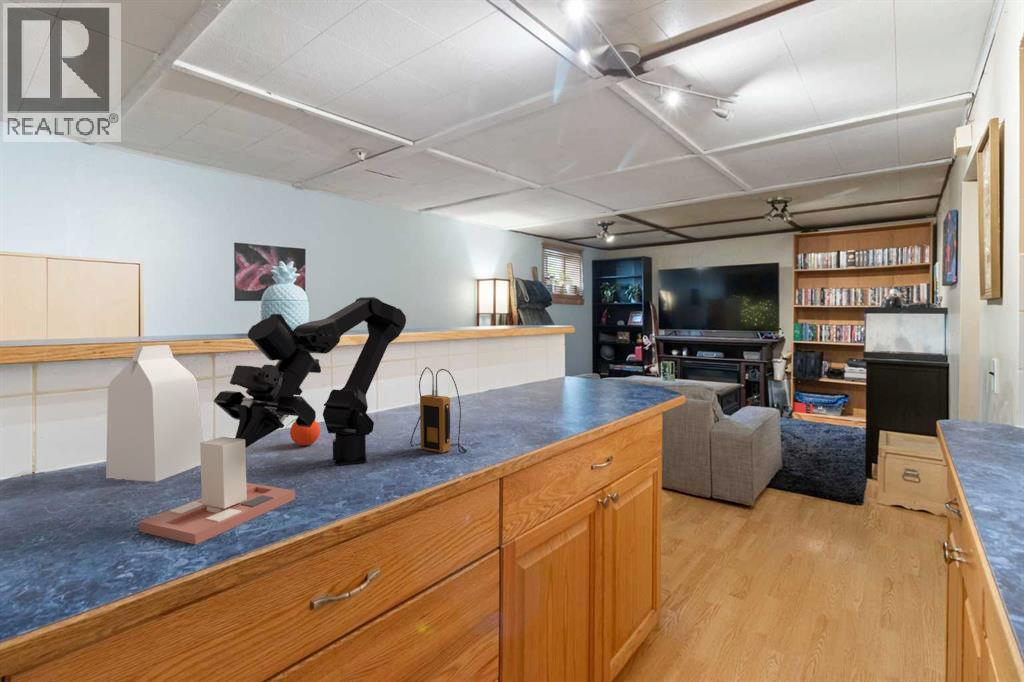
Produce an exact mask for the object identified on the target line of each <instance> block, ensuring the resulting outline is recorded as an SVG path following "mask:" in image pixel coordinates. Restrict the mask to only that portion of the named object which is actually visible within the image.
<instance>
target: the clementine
mask: <svg viewBox="0 0 1024 682" xmlns="http://www.w3.org/2000/svg"><path fill="white" fill-rule="evenodd" d="M296 419H297V418H295V419H293V420H292V421H290V422H289V423H288V424H287V425H286V427H288V426H289V425H290V424H291V423H292V425H291V427H290V431H289V436H290V438H291V440H292V441H293V442H294V443H295V444H297V445H299V446H302V445H303V447H305V446H304V445H307V446H309V445H313V444H314V443H315V442H317V440H318V439H319V437H320V434H321V427H320V423H318V421H316V419H315V420H314V422H313V423H312V425H311V427H303V426H298V425H297V423H296ZM293 422H294V423H293Z"/></svg>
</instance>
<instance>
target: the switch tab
mask: <svg viewBox="0 0 1024 682" xmlns="http://www.w3.org/2000/svg"><path fill="white" fill-rule="evenodd" d="M200 457H201V465H200V476H201V477H200V478H201V479H200V481H201V484H200V486H201V498H202V504H204V505H209V506H207V511H209V512H213V513H217V512H219V511H222V510H224V509H227V508H229V507H232V506H234V505H236V504H239V503H241V502H242V501H244V500H247V488H246V483H247V461H246V460H247V459H246V457H247V456H246V448H245V439H237V438H235V437H227V436H221V437H220V436H219V437H217V438H212V439H208V440H205V441H204V440H203V442H200Z"/></svg>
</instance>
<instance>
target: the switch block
mask: <svg viewBox="0 0 1024 682" xmlns="http://www.w3.org/2000/svg"><path fill="white" fill-rule="evenodd" d="M246 488H247V500H244V501H242V502H241V503H239V504H236V505H234V506H232V507H229V508H227V509H224V510H222V511H219V512H217V513H213V512H209V511H207V506H209V505H204V504H202V497H201V498H198V499H196V500H192V501H190V502H188V503H185V504H183V505H180V506H177V507H174V508H172V509H171V508H170V509H168V510H165V511H163V512H160V513H158V514H155V515H152V516H151V517H150V516H149V517H147V518H144V519H141V520H139V521H138V531H139V532H142V533H144V534H149V535H153V536H157V537H162V538H166V539H171V540H173V541H179V542H182V543H187V544H190V545H195V546H196V545H198V544H200V543H203V542H205V541H207V540H209V539H212V538H213V537H216V536H218V535H220V534H222V533H224V532H227V531H229V530H231V529H233V528H235V527H237V526H240V525H242V524H244V523H246V522H248V521H251V520H253V519H255V518H257V517H259V516H262V515H264V514H266V513H268V512H270V511H272V510H275V509H277V508H279V507H281V506H283V505H286V504H287V503H290V502H292V501H294V500H296V490H292V489H287V488H282V487H275V486H271V485H270V486H269V485H262V484H257V483H251V482H246Z"/></svg>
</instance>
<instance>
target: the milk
mask: <svg viewBox="0 0 1024 682" xmlns="http://www.w3.org/2000/svg"><path fill="white" fill-rule="evenodd" d="M199 398H200V397H199V388H198V382H197V380H196V377H195V376H194V375H193V373H191V371H189V370H188V369H187V368H186V367H185V366H184V365H182V364H181V363H180V362H179V361H178V360H177V359H176V358H175V357H174V355H173V353H172V350H171V347H170V345H168V344H160V345H143V346H137V347H136V350H135V352H134V354H133V356H132V359H131V361H130V362H129V363H128V364H127V365H126V366H125V367H123V369H122V370H121V371H119V373H118V374H117V375H115V376H114V377H113V379H112V380H111V381H110V383H109V385H108V387H107V411H106V412H107V414H106V415H107V416H106V419H107V420H106V457H105V458H106V460H105V461H106V462H105V463H106V464H105V465H106V466H105V467H106V468H105V469H106V470H105V479H108V478H114V480H122V479H125V480H124V481H139V482H150V483H151V482H152V483H153V482H154V483H156V482H160V481H162V480H164V479H168V478H170V477H173V476H175V475H178V474H180V473H183V472H185V471H188V470H191V469H194V468H196V466H197V467H200V466H201V457H200V442H204V435H203V426H202V418H201V417H202V416H201V407H200V399H199Z"/></svg>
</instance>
